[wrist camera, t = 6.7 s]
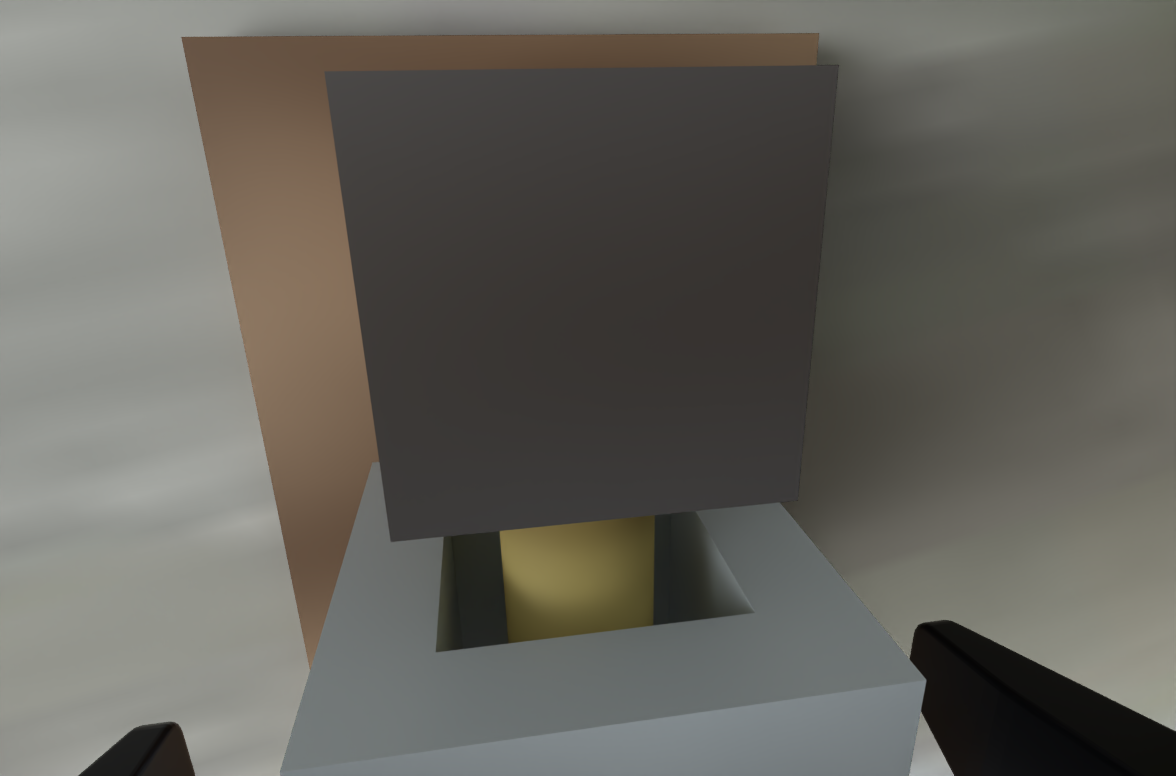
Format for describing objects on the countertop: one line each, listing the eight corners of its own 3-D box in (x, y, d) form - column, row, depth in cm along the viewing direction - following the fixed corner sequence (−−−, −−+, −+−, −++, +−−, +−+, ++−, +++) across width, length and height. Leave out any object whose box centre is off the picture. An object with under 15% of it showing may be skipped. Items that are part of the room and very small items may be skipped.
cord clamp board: (732, 820, 18) (899, 1267, 11) (371, 880, 17) (297, 1426, 10) (786, 42, 12) (1265, -91, 5) (212, 46, 10) (-331, -125, 3)
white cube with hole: (708, 706, 12) (855, 1063, 7) (414, 748, 11) (374, 1169, 7) (721, 431, 10) (925, 679, 5) (372, 462, 9) (281, 771, 5)
